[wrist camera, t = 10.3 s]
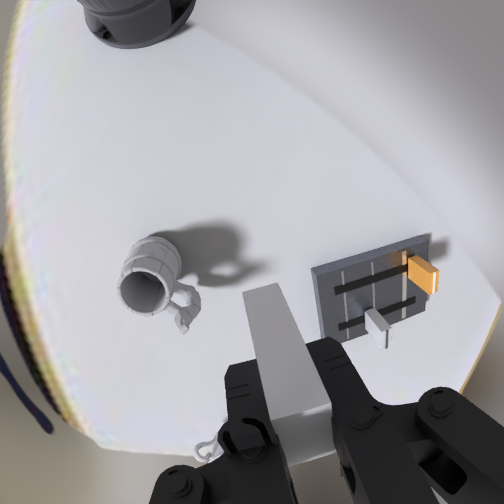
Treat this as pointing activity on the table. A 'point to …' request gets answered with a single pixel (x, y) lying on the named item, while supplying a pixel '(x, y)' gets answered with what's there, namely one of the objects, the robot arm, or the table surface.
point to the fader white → (378, 328)
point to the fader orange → (423, 274)
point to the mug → (156, 282)
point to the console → (368, 289)
